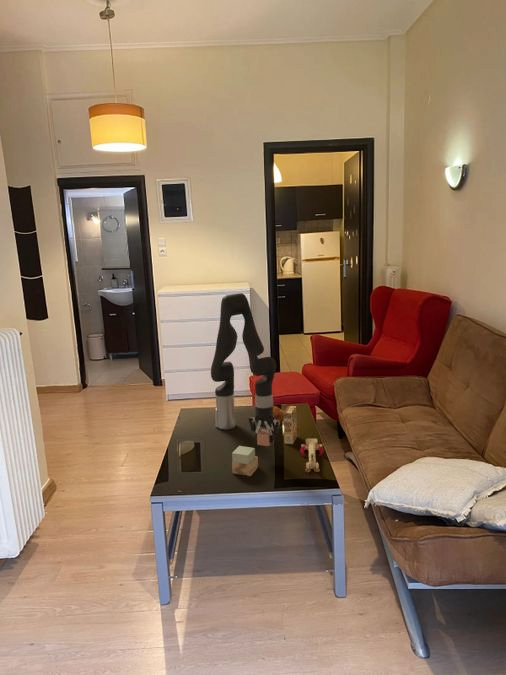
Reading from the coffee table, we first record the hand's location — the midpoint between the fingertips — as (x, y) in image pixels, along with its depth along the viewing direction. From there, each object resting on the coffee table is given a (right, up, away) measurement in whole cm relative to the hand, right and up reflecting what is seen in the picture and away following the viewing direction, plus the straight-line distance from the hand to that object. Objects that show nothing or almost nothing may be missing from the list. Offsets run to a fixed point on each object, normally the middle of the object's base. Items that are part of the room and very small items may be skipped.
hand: (265, 441), depth 209 cm
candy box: (+12, -4, +20) cm, 24 cm away
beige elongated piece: (+20, -8, +1) cm, 22 cm away
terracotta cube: (0, -1, 0) cm, 1 cm away
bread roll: (+4, +2, +46) cm, 47 cm away
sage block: (-9, -6, -8) cm, 13 cm away
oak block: (-8, -11, -7) cm, 15 cm away
